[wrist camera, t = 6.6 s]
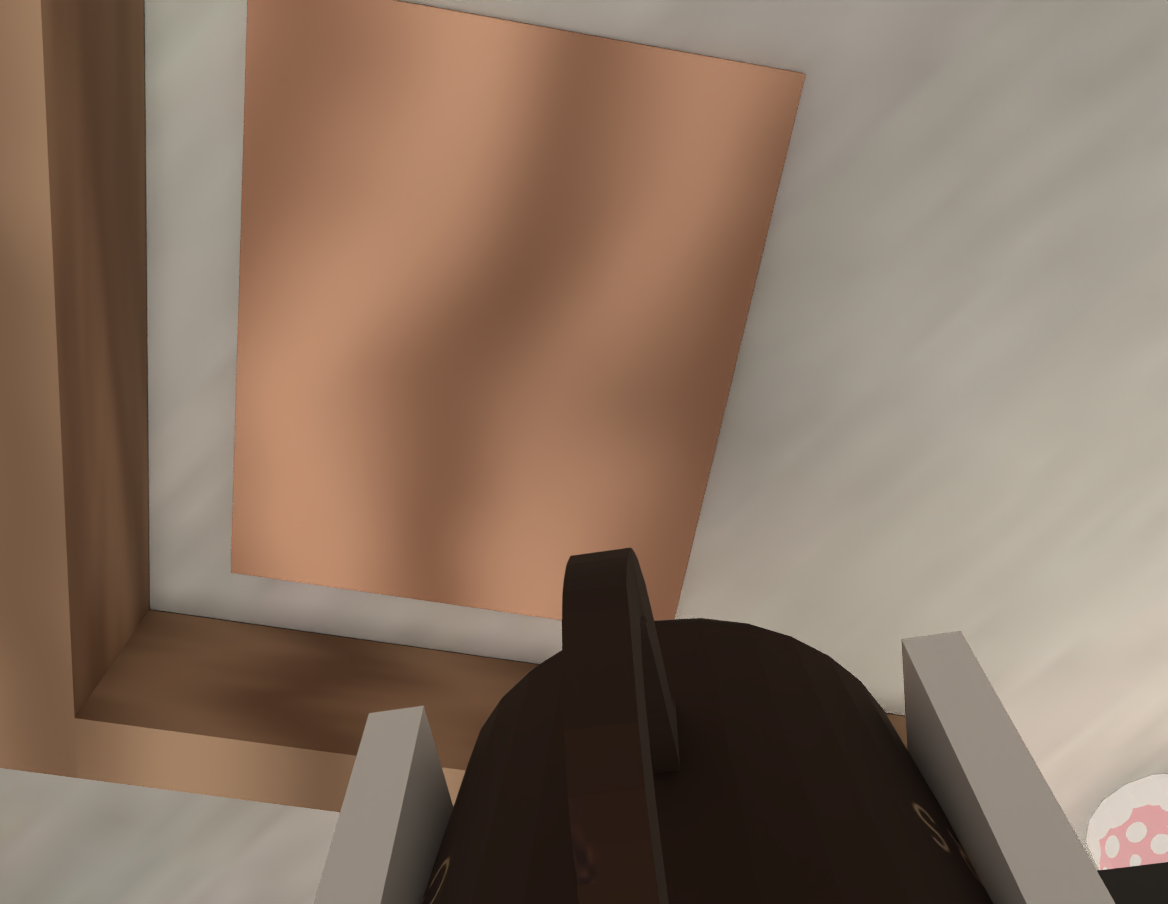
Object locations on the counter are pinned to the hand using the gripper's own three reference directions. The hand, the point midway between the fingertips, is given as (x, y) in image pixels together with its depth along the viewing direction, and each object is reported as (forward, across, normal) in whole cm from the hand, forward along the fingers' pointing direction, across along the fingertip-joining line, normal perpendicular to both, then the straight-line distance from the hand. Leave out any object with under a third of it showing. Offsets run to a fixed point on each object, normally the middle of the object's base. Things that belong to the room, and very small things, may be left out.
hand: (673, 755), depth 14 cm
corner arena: (+15, +1, 0) cm, 15 cm away
